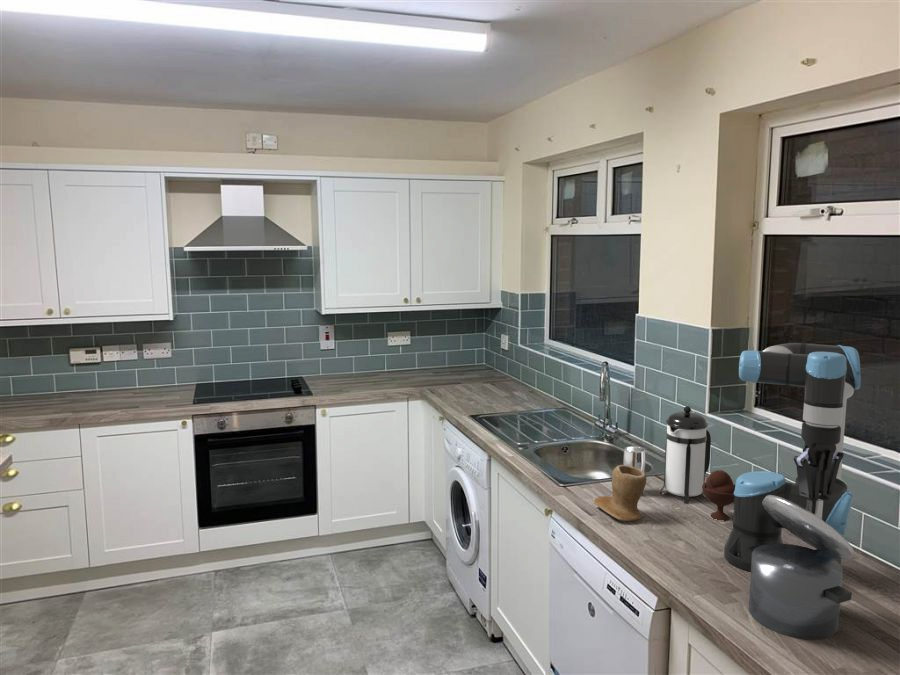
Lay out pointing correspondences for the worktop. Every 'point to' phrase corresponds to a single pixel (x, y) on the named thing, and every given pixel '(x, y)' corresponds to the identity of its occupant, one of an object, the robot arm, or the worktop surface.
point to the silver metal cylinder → (634, 457)
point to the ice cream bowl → (719, 492)
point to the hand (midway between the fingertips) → (813, 526)
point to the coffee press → (686, 454)
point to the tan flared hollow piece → (624, 494)
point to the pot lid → (808, 527)
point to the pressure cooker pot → (796, 590)
